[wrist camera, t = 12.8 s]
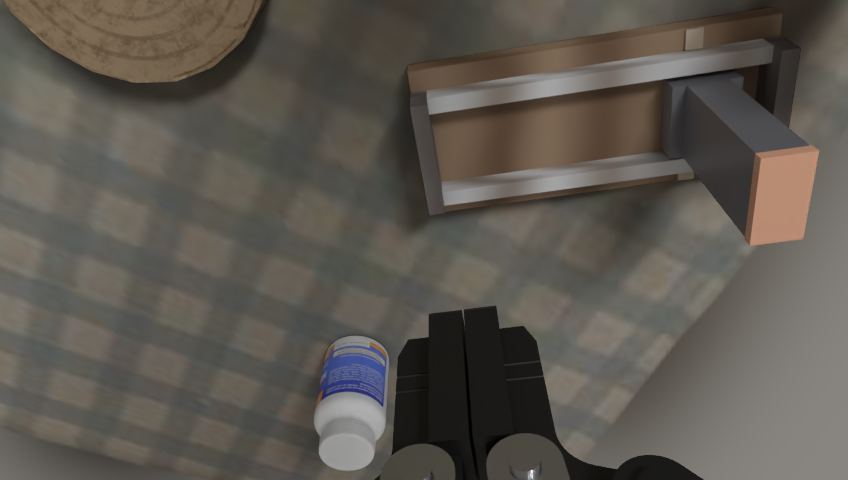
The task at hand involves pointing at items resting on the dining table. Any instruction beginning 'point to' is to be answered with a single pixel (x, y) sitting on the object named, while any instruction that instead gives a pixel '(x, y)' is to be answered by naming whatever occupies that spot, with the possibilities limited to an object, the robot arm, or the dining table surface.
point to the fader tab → (740, 154)
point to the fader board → (580, 108)
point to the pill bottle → (352, 402)
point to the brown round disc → (141, 33)
